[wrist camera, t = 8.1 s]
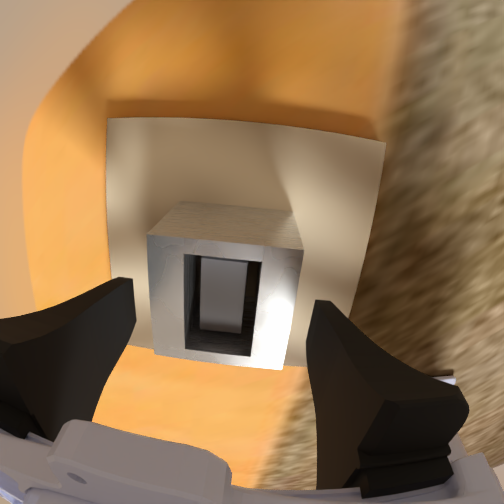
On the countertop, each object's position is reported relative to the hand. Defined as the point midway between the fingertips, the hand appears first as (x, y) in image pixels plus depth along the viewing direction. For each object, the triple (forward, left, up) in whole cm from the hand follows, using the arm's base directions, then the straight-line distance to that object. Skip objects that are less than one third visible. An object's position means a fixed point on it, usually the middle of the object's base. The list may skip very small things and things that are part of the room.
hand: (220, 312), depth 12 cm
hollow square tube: (0, 0, -5) cm, 5 cm away
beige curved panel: (0, 0, -6) cm, 6 cm away
